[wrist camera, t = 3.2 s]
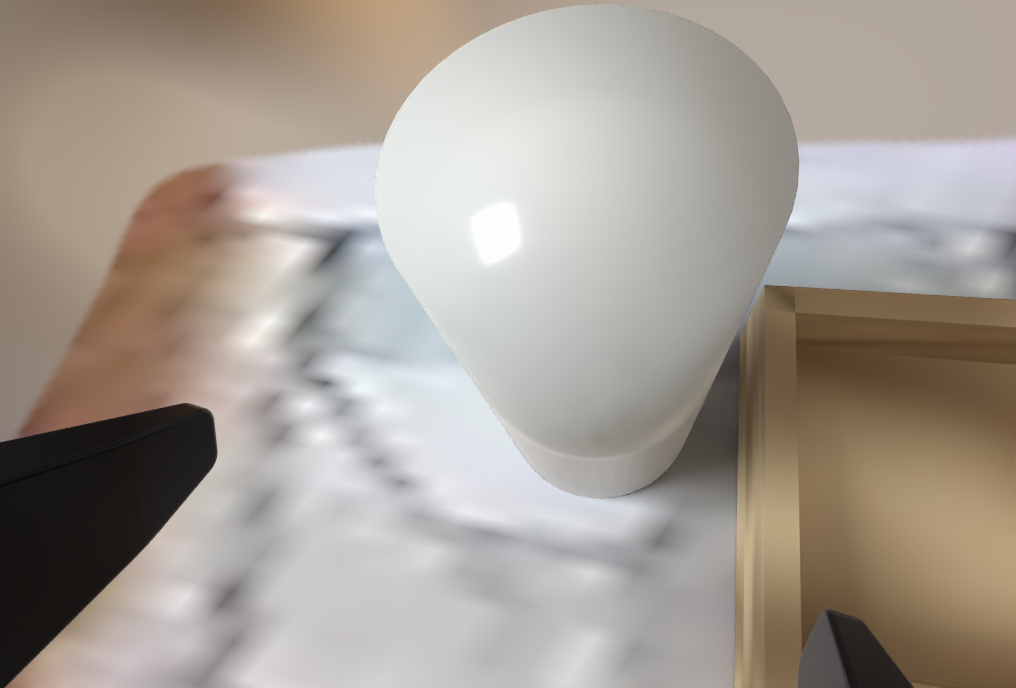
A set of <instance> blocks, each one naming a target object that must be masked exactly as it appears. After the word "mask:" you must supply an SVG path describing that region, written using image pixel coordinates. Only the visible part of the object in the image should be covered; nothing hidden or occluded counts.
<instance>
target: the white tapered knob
mask: <svg viewBox="0 0 1016 688" xmlns="http://www.w3.org/2000/svg"><path fill="white" fill-rule="evenodd" d="M798 175H799V155H798V146H797V138H796V135H795V131H794V127H793V124H792V121H791V117H790V115H789V112H788V110H787V108H786V106H785V104H784V102H783V100H782V98H781V96H780V94H779V92H778V91H777V89H776V88H775V86H774V85H773V84H772V82H771V81H770V79H769V78H768V76H767V75H766V74H765V73H764V72H763V71H762V70H761V68H760V67H759V66H758V65H757V64H756V63H755V62H754V61H753V60H752V59H751V58H750V57H749V56H748V55H747V54H745V53H744V52H743V51H742V50H740V49H739V48H738V47H737V46H736V45H734V44H733V43H731V42H730V41H728V40H727V39H725V38H723V37H722V36H720V35H719V34H717V33H715V32H714V31H712V30H710V29H708V28H705V27H704V26H701V25H699V24H697V23H695V22H693V21H690V20H687V19H684V18H682V17H679V16H675V15H673V14H670V13H666V12H661V11H656V10H652V9H648V8H643V7H633V6H624V5H596V4H594V5H582V6H570V7H565V8H559V9H554V10H547V11H543V12H540V13H536V14H532V15H529V16H525V17H522V18H519V19H516V20H514V21H511V22H509V23H506V24H503V25H501V26H498V27H496V28H494V29H492V30H490V31H488V32H486V33H484V34H482V35H480V36H478V37H476V38H475V39H473V40H472V41H470V42H468V43H467V44H465V45H464V46H462V47H460V48H459V49H457V50H456V51H455V52H453V53H452V54H451V55H450V56H448V57H447V58H446V59H444V60H443V61H442V62H441V63H439V64H438V65H437V66H436V67H435V68H434V69H433V70H432V71H431V72H430V73H429V74H428V75H427V76H426V77H425V78H424V79H423V80H422V81H421V82H420V83H419V84H418V86H417V87H416V88H415V89H414V90H413V92H412V93H411V94H410V95H409V96H408V98H407V99H406V101H405V102H404V104H403V106H402V107H401V108H400V110H399V112H398V113H397V115H396V117H395V119H394V121H393V123H392V125H391V127H390V129H389V131H388V133H387V135H386V138H385V141H384V144H383V147H382V150H381V153H380V156H379V162H378V167H377V172H376V182H375V203H376V212H377V220H378V224H379V227H380V231H381V234H382V238H383V242H384V244H385V246H386V248H387V250H388V252H389V255H390V257H391V259H392V261H393V263H394V265H395V266H396V268H397V269H398V271H399V272H400V274H401V275H402V277H403V278H404V280H405V281H406V282H407V284H408V285H409V287H410V288H411V290H412V291H413V293H414V294H415V296H416V297H417V299H418V300H419V302H420V303H421V305H422V306H423V308H424V309H425V311H426V312H427V314H428V315H429V317H430V318H431V320H432V321H433V323H434V324H435V326H436V327H437V329H438V330H439V332H440V333H441V335H442V336H443V338H444V339H445V341H446V342H447V344H448V345H449V347H450V348H451V350H452V351H453V353H454V354H455V356H456V357H457V359H458V360H459V362H460V363H461V365H462V366H463V368H464V369H465V371H466V372H467V374H468V375H469V376H470V378H471V379H472V381H473V382H474V384H475V385H476V387H477V388H478V390H479V391H480V393H481V394H482V396H483V397H484V399H485V400H486V402H487V403H488V405H489V406H490V408H491V409H492V411H493V412H494V414H495V415H496V417H497V418H498V420H499V421H500V423H501V424H502V426H503V427H504V429H505V430H506V432H507V433H508V435H509V436H510V438H511V439H512V441H513V442H514V444H515V445H516V447H517V448H518V450H519V451H520V453H521V454H522V456H523V457H524V459H525V460H526V462H527V463H528V464H529V465H530V466H531V467H532V469H533V470H534V471H535V472H536V473H537V474H538V475H540V476H541V477H542V478H543V479H544V480H546V481H547V482H549V483H550V484H552V485H553V486H555V487H557V488H559V489H561V490H563V491H566V492H569V493H572V494H575V495H578V496H583V497H589V498H612V497H618V496H623V495H627V494H630V493H633V492H635V491H638V490H640V489H642V488H644V487H646V486H648V485H649V484H651V483H652V482H654V481H655V480H657V479H658V478H659V477H660V476H661V475H662V474H664V473H665V472H666V471H667V470H668V469H669V467H670V466H671V465H672V464H673V462H674V461H675V460H676V458H677V456H678V455H679V453H680V451H681V450H682V448H683V445H684V443H685V441H686V439H687V437H688V435H689V433H690V431H691V428H692V426H693V424H694V422H695V420H696V418H697V416H698V414H699V411H700V409H701V407H702V405H703V403H704V401H705V399H706V397H707V394H708V392H709V390H710V388H711V386H712V384H713V382H714V380H715V377H716V375H717V373H718V371H719V369H720V367H721V365H722V363H723V360H724V358H725V356H726V354H727V352H728V350H729V348H730V346H731V343H732V341H733V339H734V337H735V335H736V333H737V331H738V329H739V326H740V324H741V322H742V320H743V318H744V316H745V314H746V312H747V309H748V307H749V305H750V303H751V301H752V299H753V297H754V295H755V292H756V290H757V288H758V286H759V284H760V282H761V280H762V278H763V275H764V273H765V271H766V269H767V267H768V265H769V263H770V261H771V258H772V256H773V254H774V252H775V250H776V248H777V246H778V244H779V241H780V239H781V237H782V235H783V232H784V230H785V228H786V225H787V223H788V220H789V218H790V215H791V213H792V210H793V205H794V201H795V197H796V192H797V188H798Z"/></svg>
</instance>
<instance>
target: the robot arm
mask: <svg viewBox="0 0 1016 688" xmlns="http://www.w3.org/2000/svg"><path fill="white" fill-rule="evenodd" d="M216 459H217V442H216V433H215V423H214V417H213V415H212V413H211V411H209V410H208V409H206V408H203V407H200V406H196V405H193V404H189V403H182V404H177V405H173V406H168V407H163V408H159V409H154V410H149V411H145V412H140V413H135V414H131V415H126V416H121V417H117V418H112V419H107V420H102V421H98V422H93V423H88V424H84V425H79V426H74V427H70V428H65V429H60V430H56V431H51V432H46V433H42V434H37V435H32V436H28V437H23V438H18V439H14V440H9V441H4V442H0V688H5V687H6V686H7V685H8V684H9V683H10V682H11V681H12V680H13V679H14V678H15V677H16V676H17V675H18V674H19V673H20V672H21V671H22V670H23V669H24V668H25V667H26V666H27V665H28V664H29V663H30V662H31V661H32V660H33V659H34V658H35V657H36V656H37V655H38V654H39V653H40V652H41V651H42V650H43V649H44V648H45V647H46V646H47V645H48V644H49V643H50V642H51V641H52V640H53V639H54V638H55V637H56V636H57V635H58V634H59V633H60V632H61V631H62V630H63V629H64V628H65V627H66V626H67V625H68V624H69V623H70V622H71V621H72V620H73V619H74V618H75V617H76V616H77V615H78V614H79V613H80V612H81V611H82V610H83V609H84V608H85V607H86V606H87V605H88V604H89V603H90V602H91V601H92V600H93V599H94V598H95V597H96V596H97V595H98V594H99V593H100V592H101V591H102V590H103V589H104V588H105V587H106V586H107V585H108V584H109V583H110V582H111V581H112V580H113V579H114V578H115V577H116V576H117V575H118V574H119V573H120V572H121V571H122V570H123V569H124V568H125V567H126V566H127V565H128V564H129V563H130V562H131V561H132V560H133V559H134V558H135V557H136V556H137V555H138V554H139V553H140V552H141V551H142V550H143V549H144V548H145V547H146V546H147V545H148V544H149V543H150V541H151V540H152V539H153V538H154V537H155V536H156V535H157V533H158V532H159V531H160V530H161V529H162V528H163V526H164V525H165V524H166V523H167V522H168V520H169V519H170V518H171V517H172V516H173V514H174V513H175V512H176V511H177V510H178V508H179V507H180V506H181V505H182V504H183V502H184V501H185V500H186V499H187V498H188V496H189V495H190V494H191V493H192V492H193V491H194V489H195V488H196V487H197V486H198V485H199V483H200V482H201V481H202V480H203V479H204V477H205V476H206V475H207V474H208V473H209V471H210V470H211V469H212V467H213V466H214V464H215V462H216ZM798 688H914V686H913V685H912V684H911V682H910V681H909V680H908V678H907V677H906V676H905V674H904V673H903V672H902V671H901V669H900V668H899V667H898V665H897V664H896V663H895V661H894V660H893V659H892V657H891V656H890V655H889V653H888V652H887V651H886V650H885V648H884V647H883V646H882V644H881V643H880V642H879V640H878V639H877V638H876V636H875V635H874V634H873V632H872V631H871V630H870V629H869V627H868V626H867V625H866V624H865V623H864V622H863V621H862V620H861V619H859V618H857V617H854V616H851V615H848V614H844V613H841V612H838V611H835V610H832V609H827V610H824V611H823V612H822V613H821V614H820V616H819V618H818V620H817V622H816V624H815V626H814V628H813V631H812V633H811V635H810V637H809V639H808V641H807V644H806V646H805V648H804V650H803V652H802V655H801V658H800V663H799V669H798Z"/></svg>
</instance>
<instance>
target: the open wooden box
mask: <svg viewBox="0 0 1016 688" xmlns="http://www.w3.org/2000/svg"><path fill="white" fill-rule="evenodd" d="M827 609H832V610H835V611H838V612H841V613H844V614H848V615H851V616H854V617H857V618H859V619H861V620H862V621H863V622H864V623H865V624H866V625H867V626H868V627H869V629H870V630H871V631H872V632H873V634H874V635H875V636H876V638H877V639H878V640H879V642H880V643H881V644H882V646H883V647H884V648H885V650H886V651H887V652H888V653H889V655H890V656H891V657H892V659H893V660H894V661H895V663H896V664H897V665H898V667H899V668H900V669H901V671H902V672H903V673H904V674H905V676H906V677H907V678H908V680H909V681H910V682H911V684H912V685H913V686H914V688H1016V300H1009V299H992V298H975V297H958V296H941V295H924V294H907V293H891V292H874V291H857V290H840V289H823V288H806V287H789V286H772V285H765V286H764V288H763V290H762V292H761V294H760V296H759V298H758V300H757V302H756V304H755V306H754V308H753V310H752V312H751V314H750V316H749V318H748V320H747V322H746V324H745V326H744V328H743V330H742V332H741V334H740V355H739V418H738V482H737V546H736V610H735V673H734V688H798V669H799V663H800V658H801V655H802V652H803V650H804V648H805V646H806V644H807V641H808V639H809V637H810V635H811V633H812V631H813V628H814V626H815V624H816V622H817V620H818V618H819V616H820V614H821V613H822V612H823V611H824V610H827Z"/></svg>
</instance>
